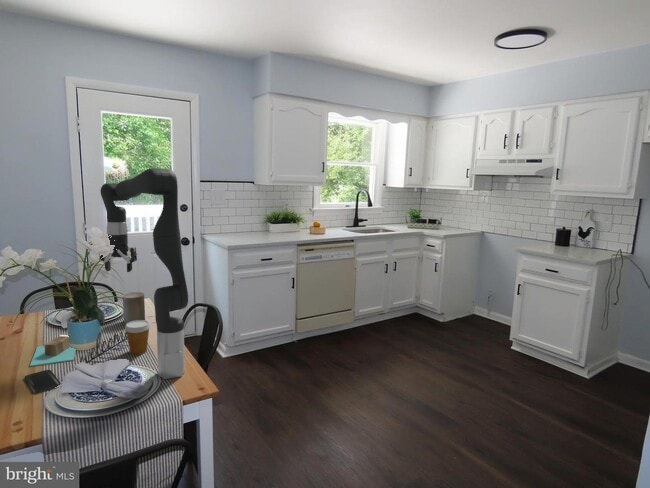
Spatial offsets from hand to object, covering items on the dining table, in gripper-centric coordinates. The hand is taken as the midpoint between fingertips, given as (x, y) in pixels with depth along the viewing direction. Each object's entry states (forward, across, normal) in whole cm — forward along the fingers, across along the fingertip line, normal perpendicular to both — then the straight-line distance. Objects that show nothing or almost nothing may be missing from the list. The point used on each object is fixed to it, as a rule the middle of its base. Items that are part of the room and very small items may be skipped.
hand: (118, 271), depth 171 cm
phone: (+33, -11, -33) cm, 48 cm away
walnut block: (+29, -21, -14) cm, 39 cm away
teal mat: (+32, -21, -12) cm, 40 cm away
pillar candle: (+32, -7, +27) cm, 43 cm away
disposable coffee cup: (+32, +10, -6) cm, 34 cm away
